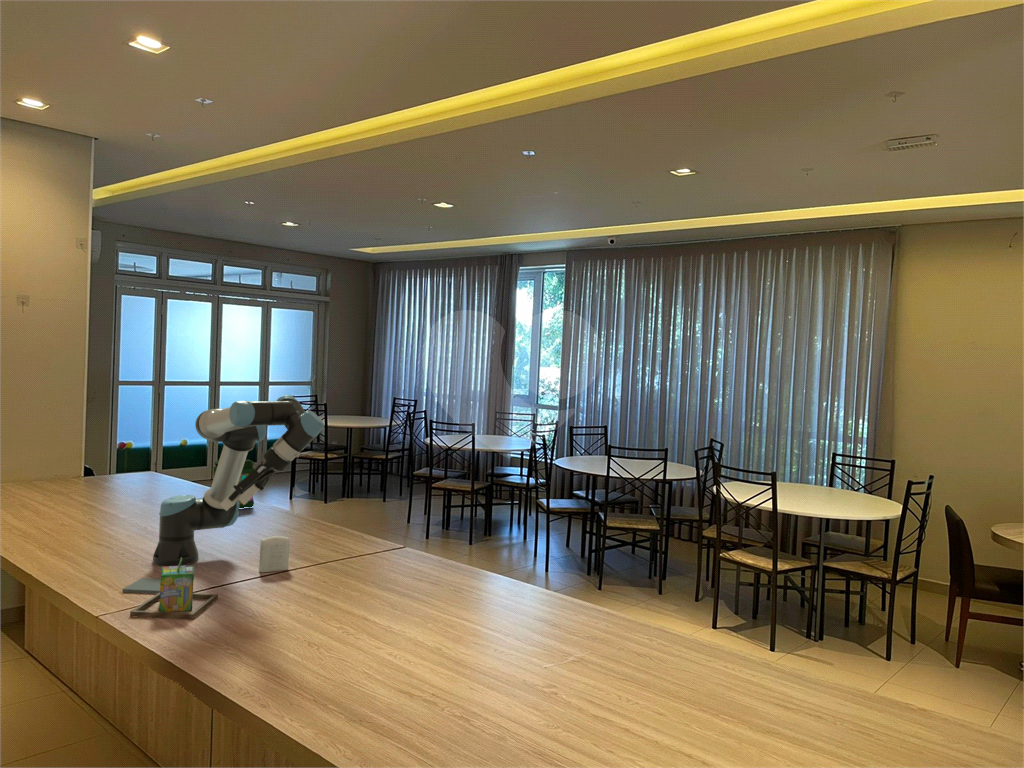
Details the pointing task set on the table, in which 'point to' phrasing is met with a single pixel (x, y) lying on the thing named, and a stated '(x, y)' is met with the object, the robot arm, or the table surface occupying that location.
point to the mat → (144, 586)
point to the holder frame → (173, 615)
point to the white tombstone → (274, 554)
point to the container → (245, 472)
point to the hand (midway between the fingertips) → (232, 504)
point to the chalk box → (176, 588)
